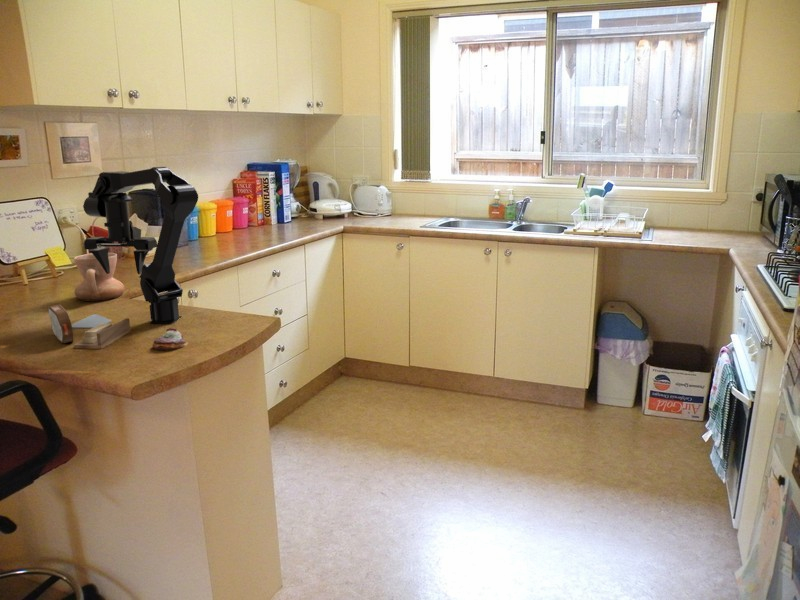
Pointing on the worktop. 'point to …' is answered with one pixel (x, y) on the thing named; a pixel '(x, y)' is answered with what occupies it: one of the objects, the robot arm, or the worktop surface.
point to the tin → (61, 323)
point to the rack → (108, 335)
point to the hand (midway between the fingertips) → (123, 273)
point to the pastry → (169, 341)
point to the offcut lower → (89, 339)
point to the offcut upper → (96, 329)
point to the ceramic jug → (97, 279)
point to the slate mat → (90, 322)
